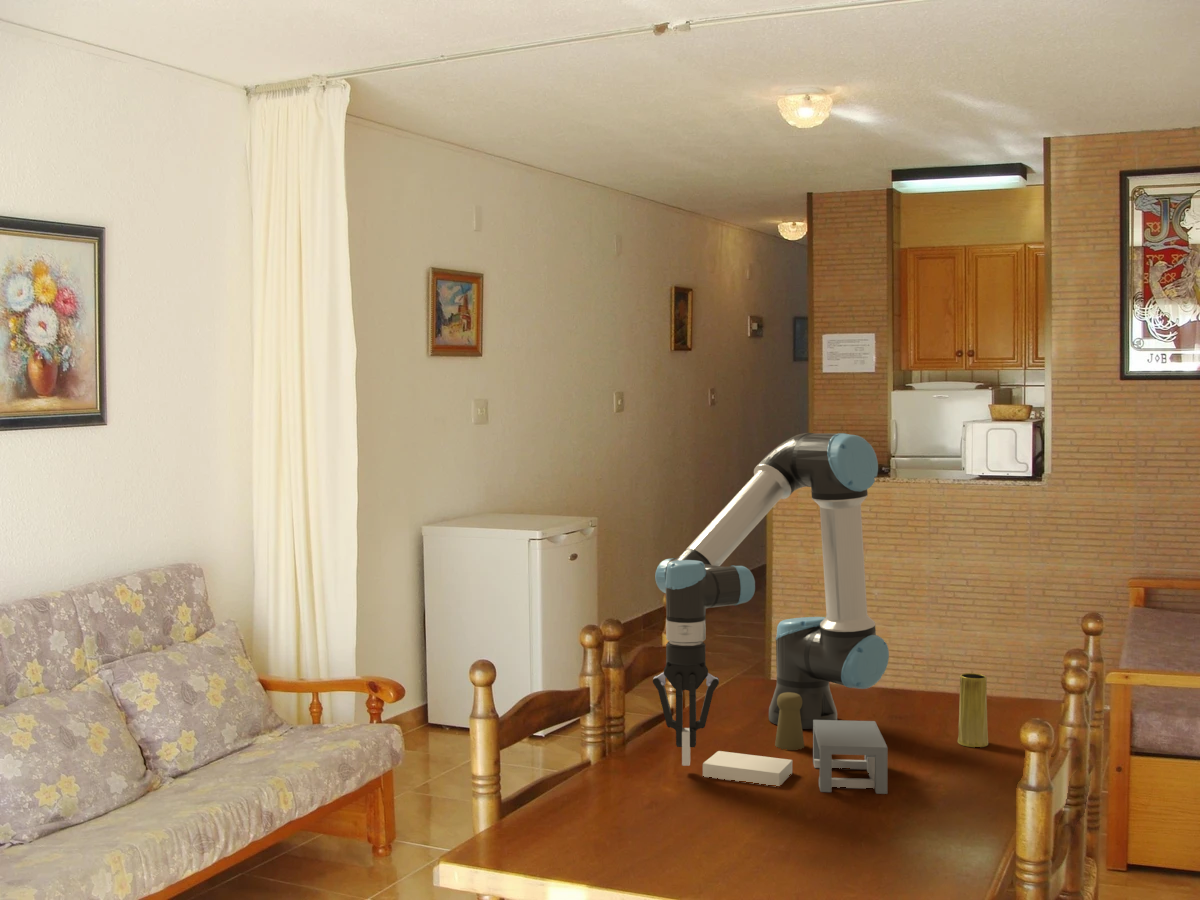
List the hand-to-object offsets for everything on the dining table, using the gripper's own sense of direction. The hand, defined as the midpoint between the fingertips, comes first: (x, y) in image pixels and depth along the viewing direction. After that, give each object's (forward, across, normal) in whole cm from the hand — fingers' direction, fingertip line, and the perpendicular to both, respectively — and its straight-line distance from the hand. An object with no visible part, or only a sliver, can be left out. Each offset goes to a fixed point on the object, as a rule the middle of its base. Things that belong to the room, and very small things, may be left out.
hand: (686, 763), depth 227 cm
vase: (+2, +59, +25) cm, 64 cm away
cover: (+2, +12, 0) cm, 12 cm away
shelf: (+2, +31, 0) cm, 31 cm away
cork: (+2, +21, +20) cm, 29 cm away
